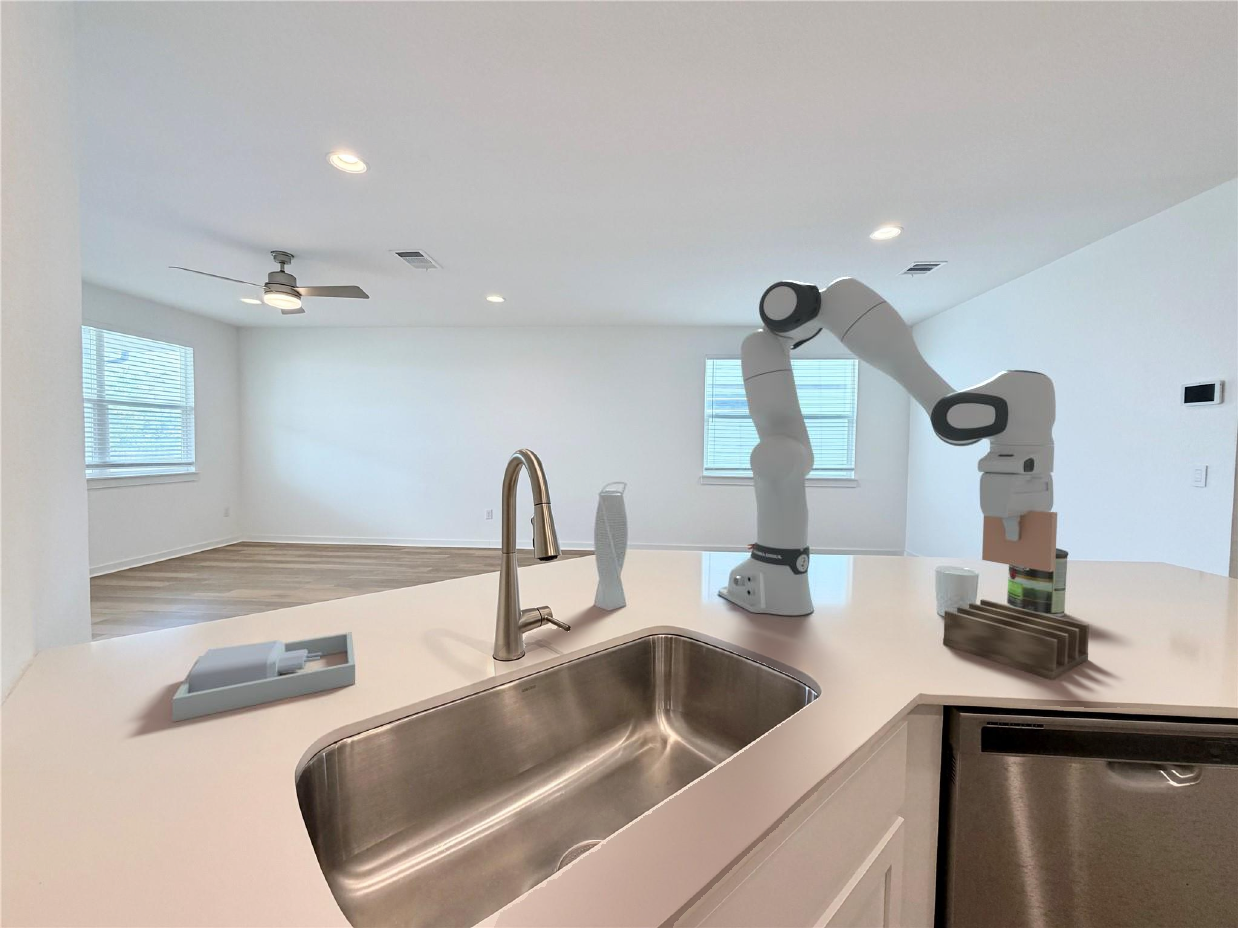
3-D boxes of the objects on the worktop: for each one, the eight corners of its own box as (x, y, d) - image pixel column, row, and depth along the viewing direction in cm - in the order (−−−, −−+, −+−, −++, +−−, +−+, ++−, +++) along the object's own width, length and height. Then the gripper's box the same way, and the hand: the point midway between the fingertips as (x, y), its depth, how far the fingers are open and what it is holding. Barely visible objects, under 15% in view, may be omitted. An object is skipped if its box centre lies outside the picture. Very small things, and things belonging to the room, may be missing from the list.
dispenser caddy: (199, 675, 75) (199, 656, 75) (351, 648, 85) (351, 631, 85) (172, 721, 62) (172, 698, 62) (355, 683, 73) (355, 664, 73)
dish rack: (943, 643, 91) (944, 611, 90) (982, 629, 98) (983, 599, 98) (1052, 679, 77) (1054, 641, 77) (1087, 659, 85) (1089, 624, 84)
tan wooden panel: (982, 559, 91) (984, 506, 90) (987, 558, 92) (989, 506, 91) (1050, 571, 82) (1052, 513, 82) (1055, 570, 83) (1057, 512, 83)
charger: (317, 683, 73) (189, 705, 67) (324, 659, 82) (211, 676, 75) (317, 652, 73) (188, 671, 67) (323, 631, 81) (210, 646, 75)
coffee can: (1025, 615, 107) (1028, 552, 106) (996, 601, 117) (998, 543, 117) (1078, 618, 105) (1081, 554, 105) (1043, 603, 116) (1046, 544, 115)
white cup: (963, 610, 110) (964, 566, 110) (985, 622, 102) (987, 575, 102) (926, 608, 111) (927, 565, 111) (946, 620, 103) (947, 574, 103)
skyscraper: (612, 597, 116) (614, 480, 115) (634, 605, 111) (636, 482, 110) (587, 604, 111) (588, 482, 110) (608, 613, 105) (610, 484, 104)
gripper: (1024, 461, 94) (1021, 532, 95) (972, 461, 84) (969, 541, 84) (1066, 462, 89) (1063, 537, 89) (1016, 462, 79) (1013, 547, 79)
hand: (1017, 539), depth 87 cm, fingers closed on tan wooden panel, 2 cm apart
